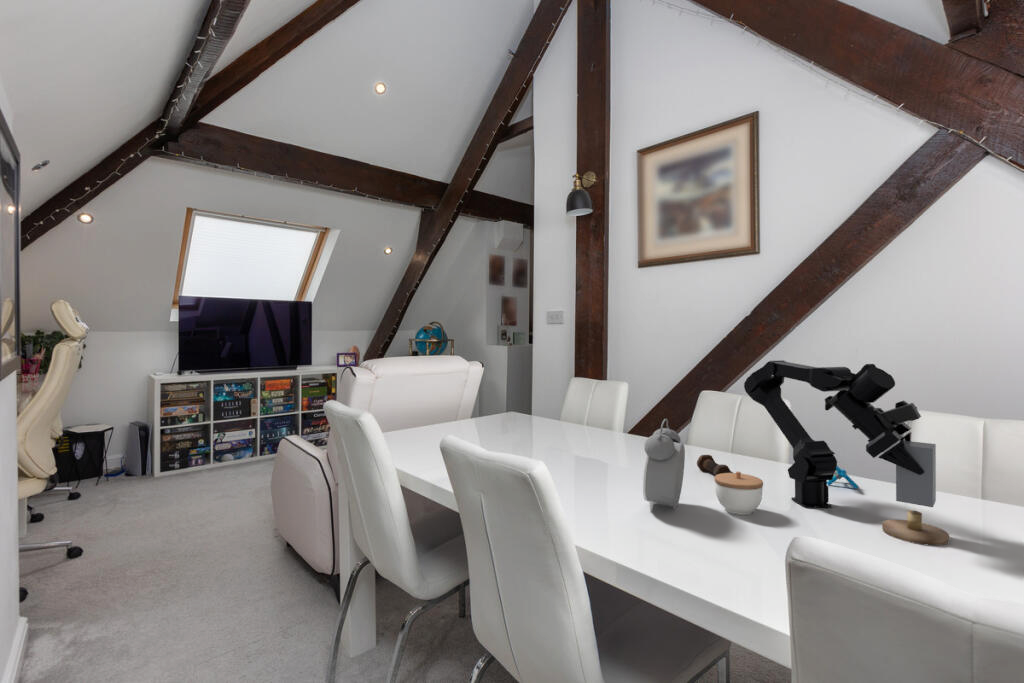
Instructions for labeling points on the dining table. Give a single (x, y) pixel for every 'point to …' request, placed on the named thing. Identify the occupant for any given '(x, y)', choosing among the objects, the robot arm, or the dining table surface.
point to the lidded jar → (738, 492)
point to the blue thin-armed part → (839, 475)
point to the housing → (918, 476)
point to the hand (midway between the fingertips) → (924, 470)
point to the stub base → (915, 530)
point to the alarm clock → (663, 467)
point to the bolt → (711, 465)
